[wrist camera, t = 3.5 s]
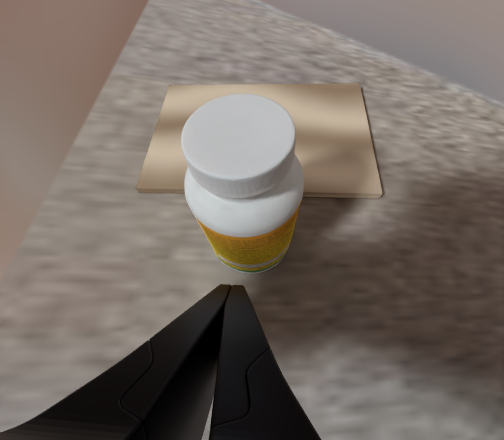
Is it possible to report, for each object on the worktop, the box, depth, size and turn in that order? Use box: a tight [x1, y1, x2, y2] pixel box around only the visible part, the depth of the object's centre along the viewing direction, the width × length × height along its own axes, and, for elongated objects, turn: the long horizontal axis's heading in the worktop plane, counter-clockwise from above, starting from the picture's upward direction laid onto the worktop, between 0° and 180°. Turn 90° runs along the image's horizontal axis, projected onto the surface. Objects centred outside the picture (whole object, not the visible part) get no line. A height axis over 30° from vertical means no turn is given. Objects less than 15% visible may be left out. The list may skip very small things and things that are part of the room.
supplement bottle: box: [181, 94, 304, 274], centre depth 13 cm, size 5×5×10 cm
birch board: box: [136, 83, 383, 198], centre depth 21 cm, size 12×18×1 cm, turn 86°
